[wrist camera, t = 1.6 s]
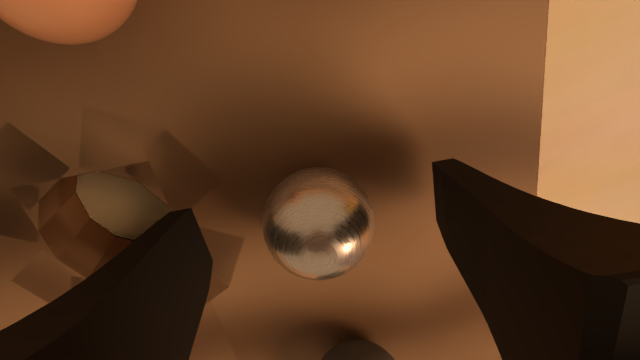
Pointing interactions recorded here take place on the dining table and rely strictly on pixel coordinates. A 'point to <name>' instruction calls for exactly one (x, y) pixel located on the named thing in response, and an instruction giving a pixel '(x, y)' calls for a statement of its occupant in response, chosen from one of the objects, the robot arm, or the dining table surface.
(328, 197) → the steel ball
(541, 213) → the robot arm
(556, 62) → the dining table surface
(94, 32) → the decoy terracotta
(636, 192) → the dining table surface
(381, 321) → the board
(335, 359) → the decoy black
